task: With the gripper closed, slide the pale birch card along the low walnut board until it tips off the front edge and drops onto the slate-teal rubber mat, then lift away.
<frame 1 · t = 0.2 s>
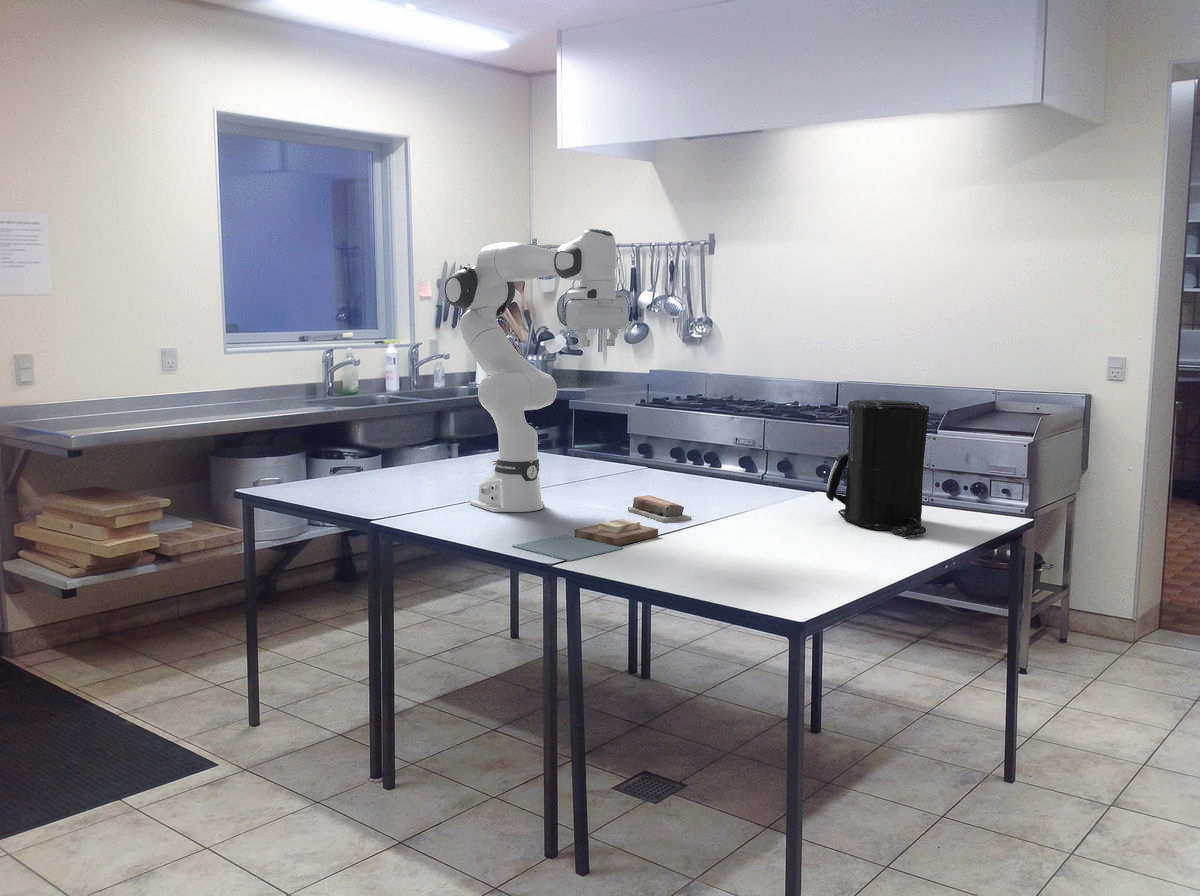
hand: (598, 346, 271), 47 cm above the table, fingers open, 8 cm apart
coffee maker: (873, 524, 282), on the table
packaged product: (658, 517, 291), on the table
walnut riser: (616, 536, 263), on the table
rubber mat: (567, 547, 250), on the table
birch card: (619, 528, 263), point 2 cm above the table, touching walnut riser
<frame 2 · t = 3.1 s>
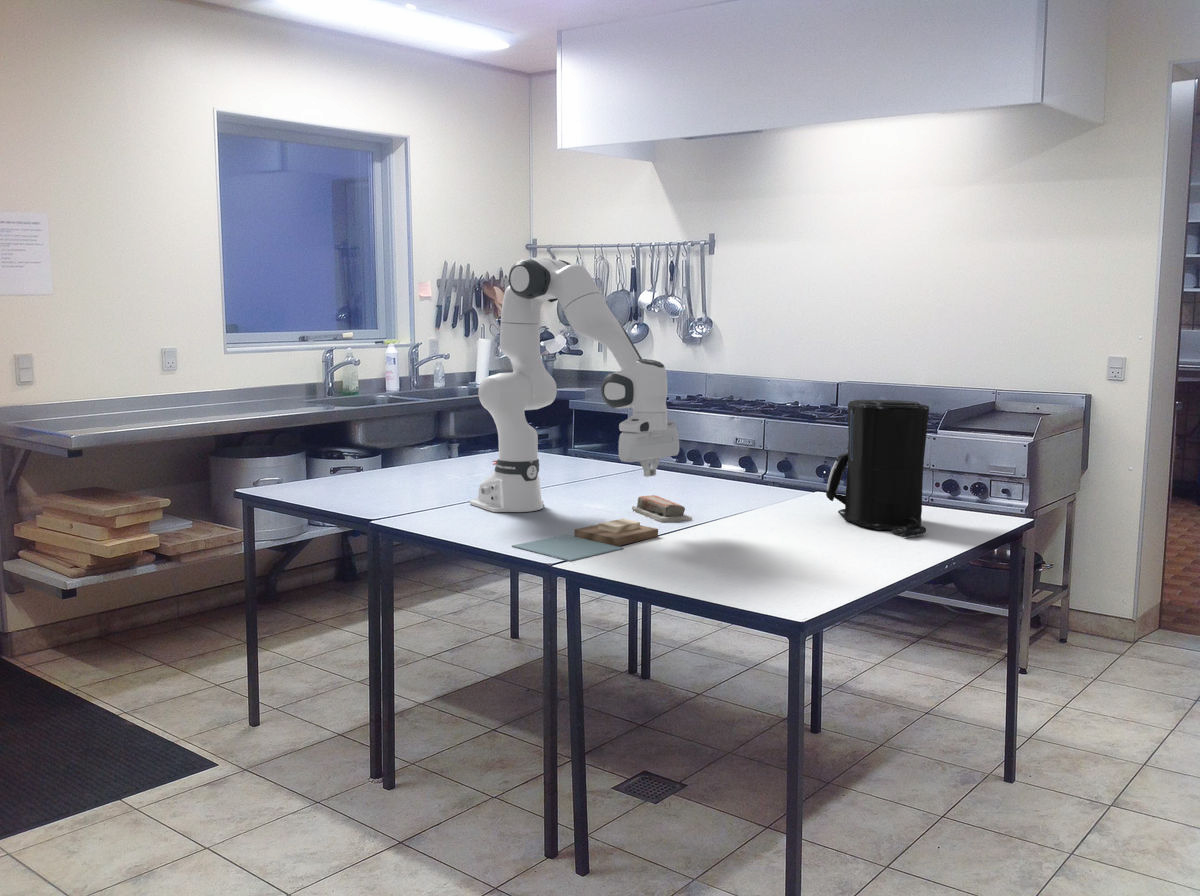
hand: (649, 476, 269), 14 cm above the table, fingers closed
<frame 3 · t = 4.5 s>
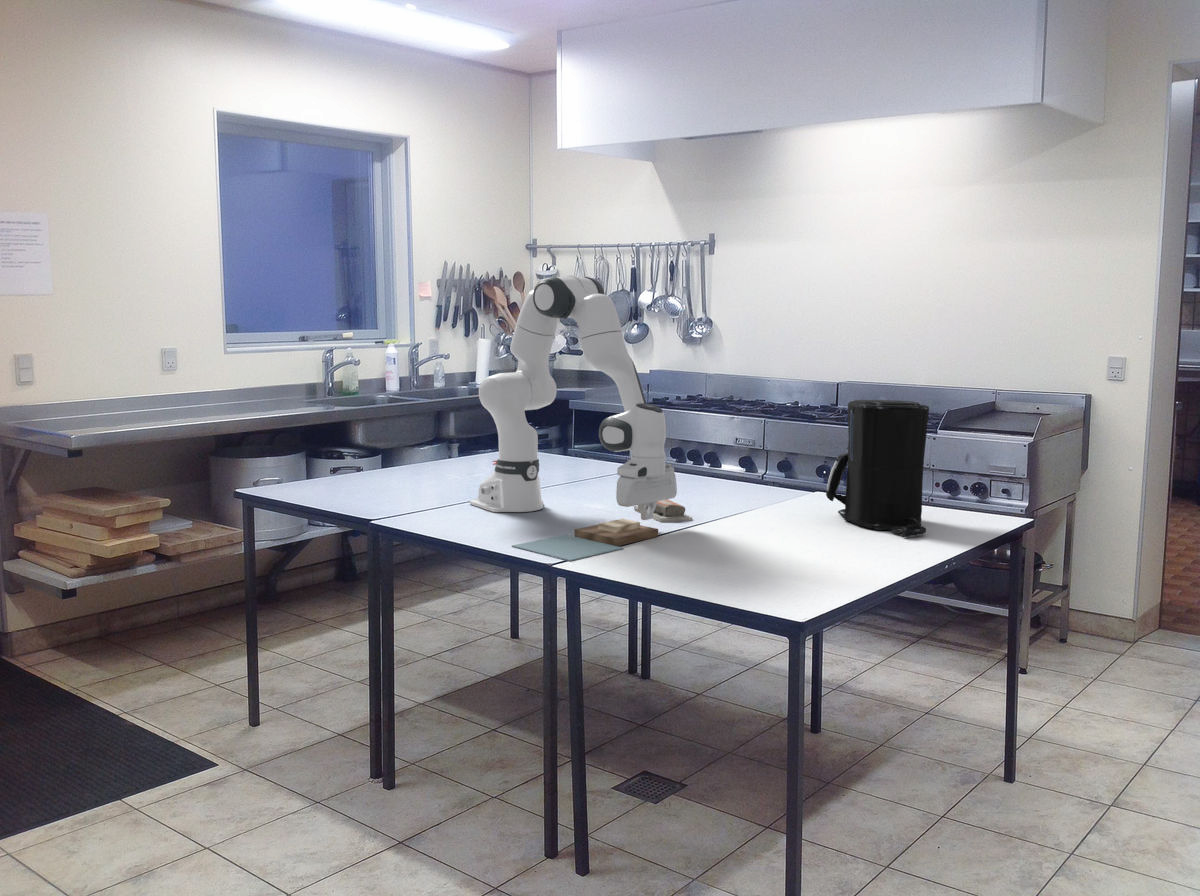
hand: (647, 519, 271), 3 cm above the table, fingers closed
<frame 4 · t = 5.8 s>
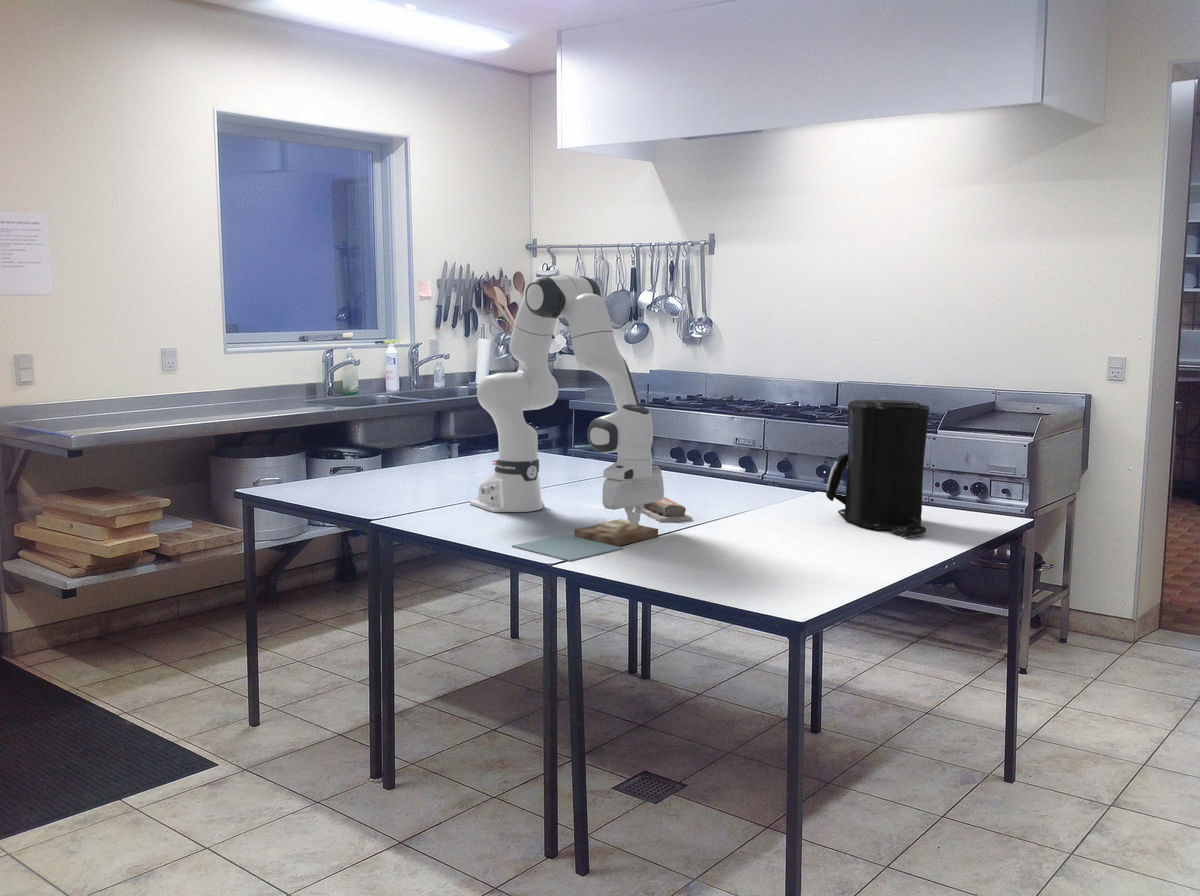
hand: (633, 522, 267), 3 cm above the table, fingers closed
birch card: (617, 528, 263), point 2 cm above the table, touching gripper
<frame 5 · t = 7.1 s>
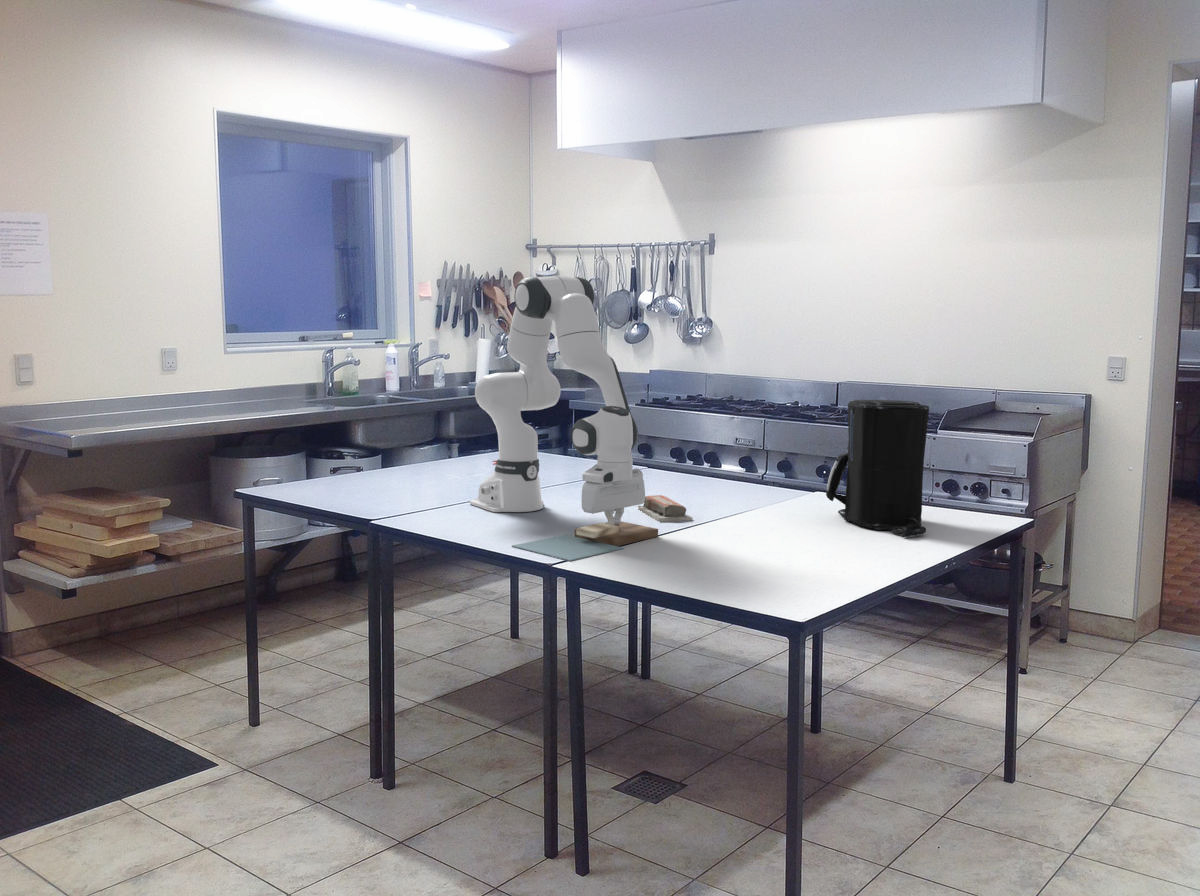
hand: (614, 526, 261), 3 cm above the table, fingers closed
birch card: (597, 533, 257), point 2 cm above the table, touching gripper
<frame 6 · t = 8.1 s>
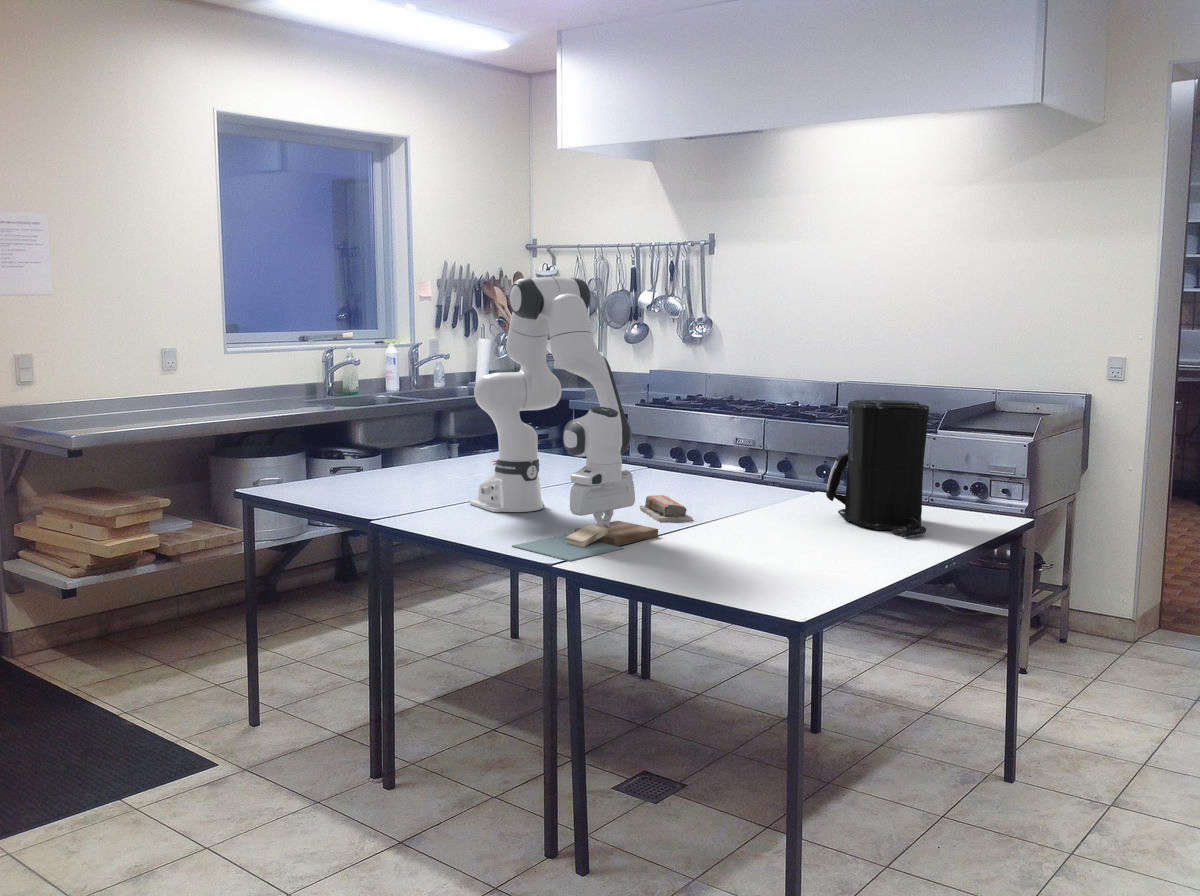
hand: (603, 528, 259), 3 cm above the table, fingers closed
birch card: (587, 538, 255), point 1 cm above the table, tilted 13°, touching gripper, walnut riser
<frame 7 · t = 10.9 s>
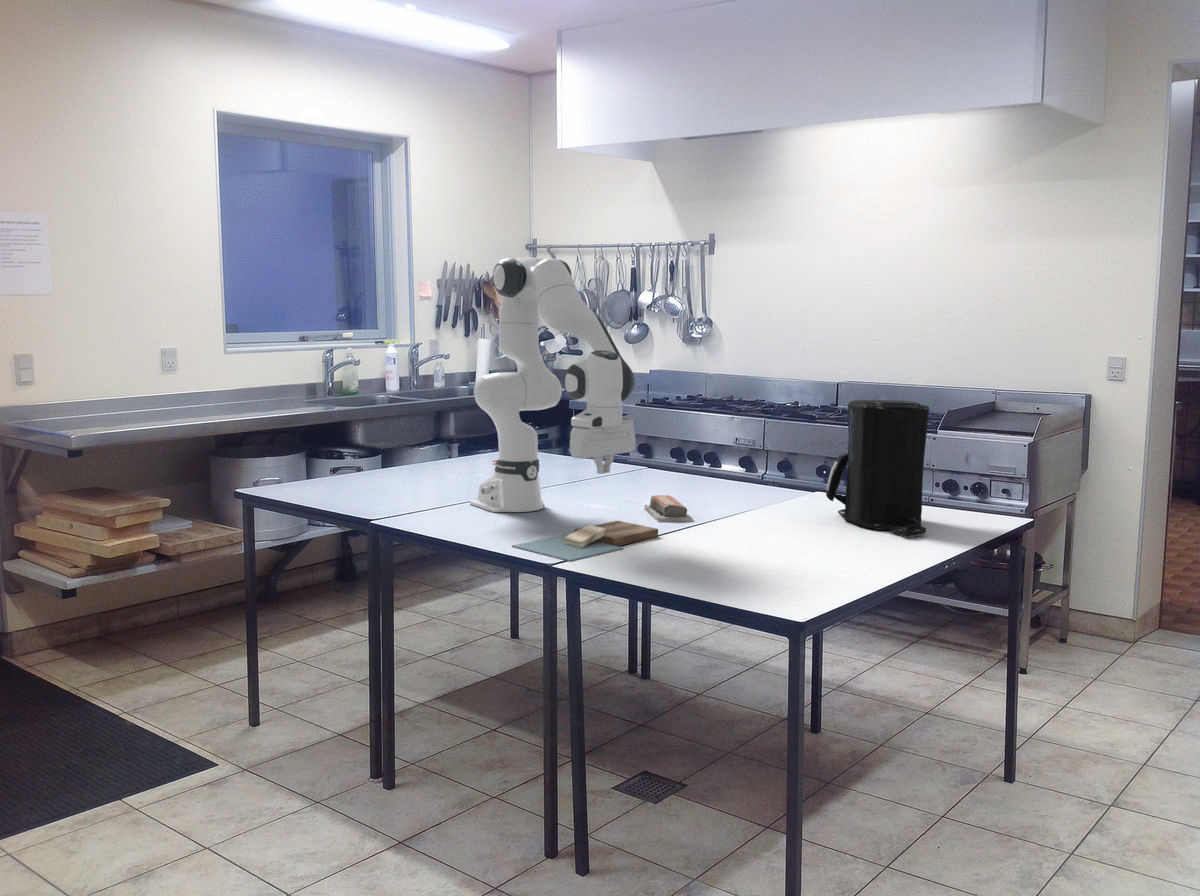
hand: (603, 473, 257), 17 cm above the table, fingers closed
birch card: (585, 538, 254), point 1 cm above the table, tilted 13°, touching rubber mat, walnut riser
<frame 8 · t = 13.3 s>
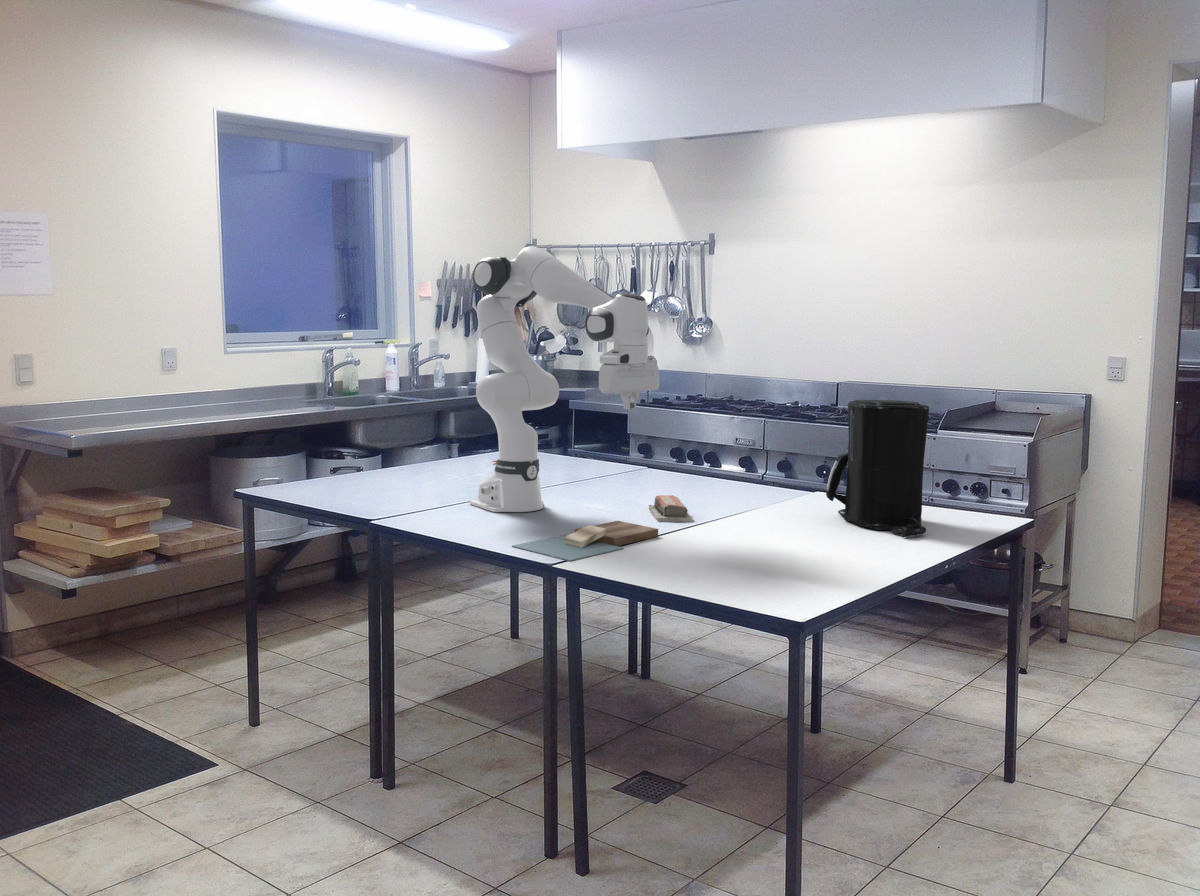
hand: (629, 409, 272), 31 cm above the table, fingers closed
at the end: birch card inside the target area on the rubber mat (6.1 cm from its centre), point 1.3 cm above the rubber mat's base; birch card tilted 13° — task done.
